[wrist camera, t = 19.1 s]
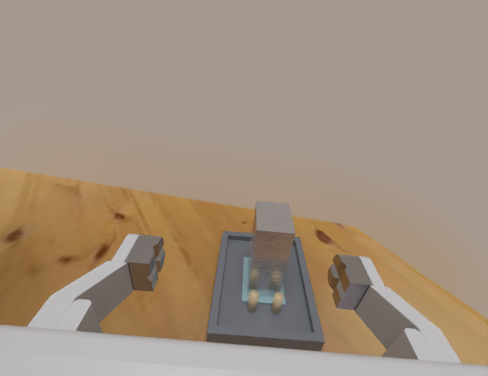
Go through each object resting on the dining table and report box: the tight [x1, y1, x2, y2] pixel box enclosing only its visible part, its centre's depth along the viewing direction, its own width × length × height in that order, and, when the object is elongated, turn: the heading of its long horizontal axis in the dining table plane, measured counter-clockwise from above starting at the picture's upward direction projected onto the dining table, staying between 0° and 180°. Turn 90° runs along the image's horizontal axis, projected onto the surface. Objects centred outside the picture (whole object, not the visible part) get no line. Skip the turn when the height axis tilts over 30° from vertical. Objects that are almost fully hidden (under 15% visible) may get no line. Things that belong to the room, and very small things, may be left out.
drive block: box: [247, 201, 295, 297], centre depth 34 cm, size 4×6×12 cm
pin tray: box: [207, 231, 325, 351], centre depth 37 cm, size 14×18×4 cm
